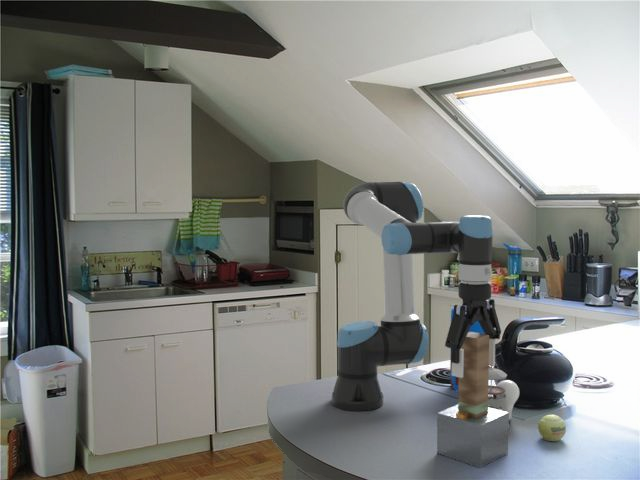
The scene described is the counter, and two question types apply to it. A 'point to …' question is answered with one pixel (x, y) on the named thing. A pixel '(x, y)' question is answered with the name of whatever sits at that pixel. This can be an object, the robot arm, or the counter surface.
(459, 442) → the silver metal block
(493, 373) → the french press
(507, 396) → the lightbulb
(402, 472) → the counter surface
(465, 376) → the post
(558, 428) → the tennis ball
